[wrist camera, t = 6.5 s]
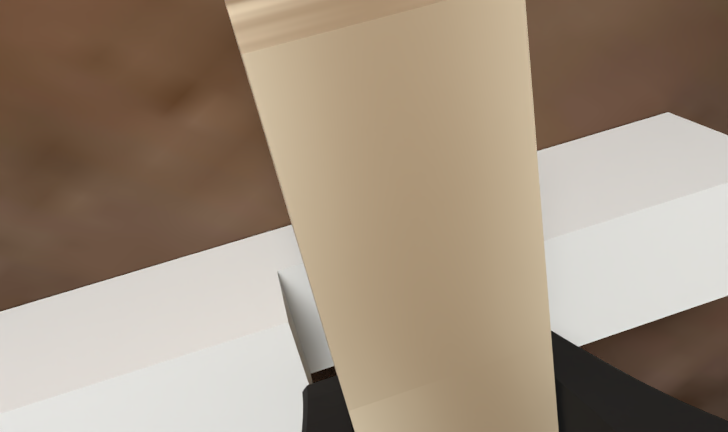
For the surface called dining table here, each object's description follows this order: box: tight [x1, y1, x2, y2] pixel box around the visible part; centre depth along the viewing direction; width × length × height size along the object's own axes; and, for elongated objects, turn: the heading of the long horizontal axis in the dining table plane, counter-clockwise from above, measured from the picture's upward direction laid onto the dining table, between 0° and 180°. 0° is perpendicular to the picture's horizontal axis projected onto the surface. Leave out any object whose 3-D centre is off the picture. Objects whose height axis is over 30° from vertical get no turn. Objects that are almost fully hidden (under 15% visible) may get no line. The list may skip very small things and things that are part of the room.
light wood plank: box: [224, 0, 559, 432], centre depth 13 cm, size 3×14×7 cm, turn 13°
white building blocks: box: [0, 112, 728, 432], centre depth 14 cm, size 18×3×4 cm, turn 102°
